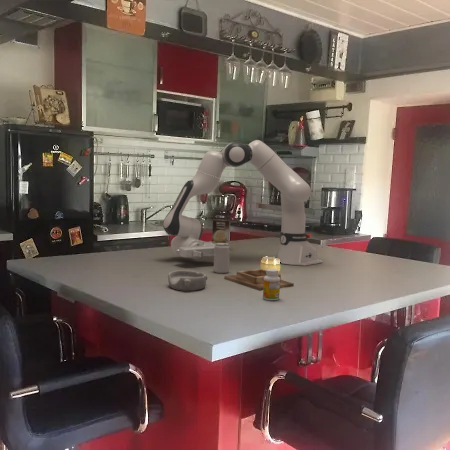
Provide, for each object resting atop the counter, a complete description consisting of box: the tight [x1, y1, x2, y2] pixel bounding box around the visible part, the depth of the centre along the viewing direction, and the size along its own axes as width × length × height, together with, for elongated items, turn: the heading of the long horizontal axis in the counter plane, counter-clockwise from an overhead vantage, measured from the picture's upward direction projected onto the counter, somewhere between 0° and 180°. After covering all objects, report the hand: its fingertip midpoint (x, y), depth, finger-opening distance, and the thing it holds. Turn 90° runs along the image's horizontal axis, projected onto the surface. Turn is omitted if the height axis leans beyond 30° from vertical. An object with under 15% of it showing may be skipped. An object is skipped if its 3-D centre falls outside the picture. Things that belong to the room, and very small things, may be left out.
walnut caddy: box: [223, 269, 295, 291], centre depth 193 cm, size 16×22×4 cm
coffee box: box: [211, 218, 231, 245], centre depth 270 cm, size 9×6×16 cm
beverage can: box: [213, 243, 231, 274], centre depth 210 cm, size 6×6×12 cm
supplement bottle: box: [262, 268, 281, 301], centre depth 168 cm, size 5×5×10 cm
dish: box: [167, 269, 208, 292], centre depth 181 cm, size 14×14×5 cm
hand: (211, 253), depth 216 cm, fingers open, 8 cm apart
